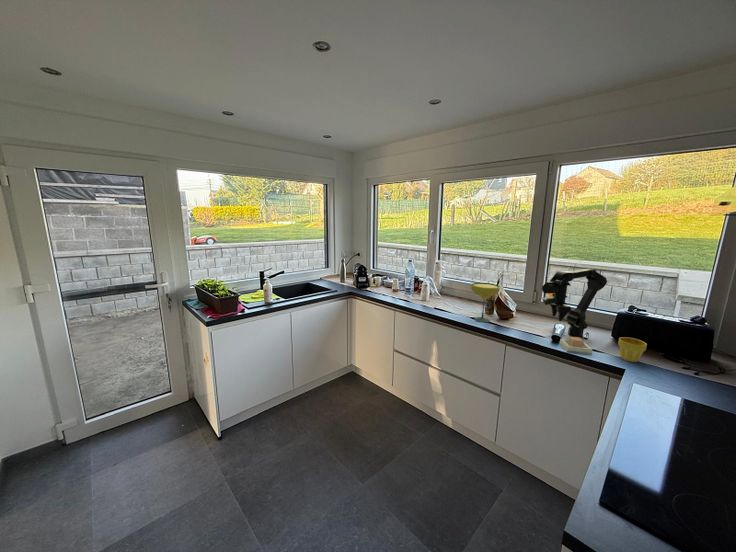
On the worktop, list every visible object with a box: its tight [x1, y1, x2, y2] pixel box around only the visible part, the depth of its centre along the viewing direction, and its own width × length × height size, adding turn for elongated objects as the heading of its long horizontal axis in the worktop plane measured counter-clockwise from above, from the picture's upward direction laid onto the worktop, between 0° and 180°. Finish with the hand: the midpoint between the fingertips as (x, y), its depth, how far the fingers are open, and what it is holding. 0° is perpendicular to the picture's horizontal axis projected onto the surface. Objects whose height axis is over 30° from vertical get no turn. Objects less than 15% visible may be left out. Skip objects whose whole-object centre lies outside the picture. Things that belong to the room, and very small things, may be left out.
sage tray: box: [559, 338, 593, 356], centre depth 156 cm, size 11×11×3 cm
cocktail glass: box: [470, 282, 501, 324], centre depth 199 cm, size 18×18×25 cm
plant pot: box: [617, 336, 648, 363], centre depth 144 cm, size 10×10×10 cm
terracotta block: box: [568, 335, 585, 348], centre depth 155 cm, size 5×5×5 cm
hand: (556, 318), depth 169 cm, fingers open, 9 cm apart
